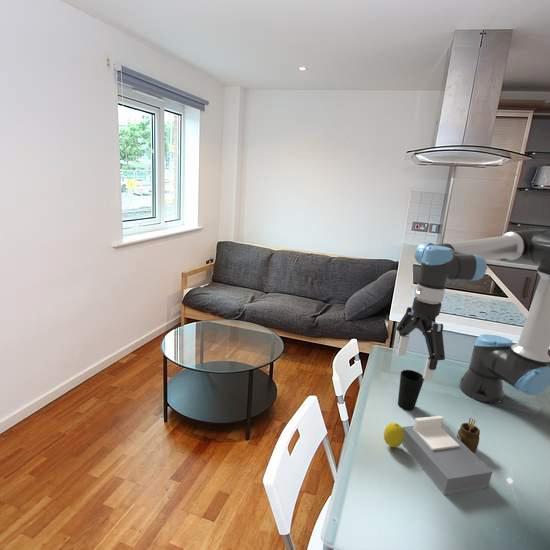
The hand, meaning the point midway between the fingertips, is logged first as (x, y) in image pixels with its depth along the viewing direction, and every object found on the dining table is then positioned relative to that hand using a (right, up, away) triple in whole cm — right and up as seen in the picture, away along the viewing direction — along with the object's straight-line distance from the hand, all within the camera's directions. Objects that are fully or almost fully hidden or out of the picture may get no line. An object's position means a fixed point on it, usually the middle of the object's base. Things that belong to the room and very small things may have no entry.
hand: (413, 366), depth 115 cm
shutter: (+5, -20, -4) cm, 21 cm away
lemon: (-7, -24, -2) cm, 25 cm away
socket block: (+5, -26, -7) cm, 27 cm away
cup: (+4, -19, +19) cm, 27 cm away
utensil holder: (+16, -25, +1) cm, 30 cm away
